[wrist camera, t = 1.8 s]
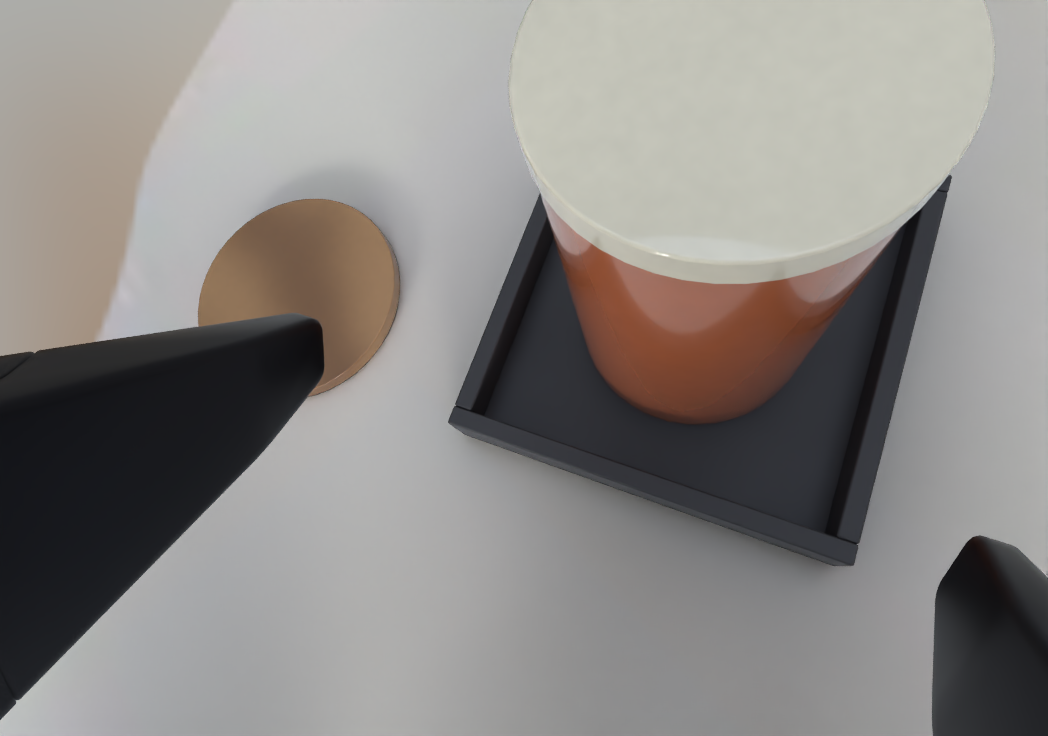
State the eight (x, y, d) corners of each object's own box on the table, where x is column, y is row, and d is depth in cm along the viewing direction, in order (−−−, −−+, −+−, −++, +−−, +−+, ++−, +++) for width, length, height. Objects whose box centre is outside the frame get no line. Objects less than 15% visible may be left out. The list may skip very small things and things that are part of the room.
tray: (835, 566, 19) (853, 566, 17) (463, 433, 22) (446, 422, 21) (928, 207, 22) (953, 174, 20) (581, 135, 25) (576, 101, 23)
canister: (702, 476, 20) (763, 365, 9) (536, 326, 23) (420, 89, 11) (862, 309, 21) (1111, 4, 9) (683, 179, 23) (712, -185, 12)
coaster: (283, 444, 24) (275, 441, 23) (171, 306, 26) (161, 301, 26) (442, 289, 24) (437, 283, 24) (316, 170, 27) (310, 162, 26)
